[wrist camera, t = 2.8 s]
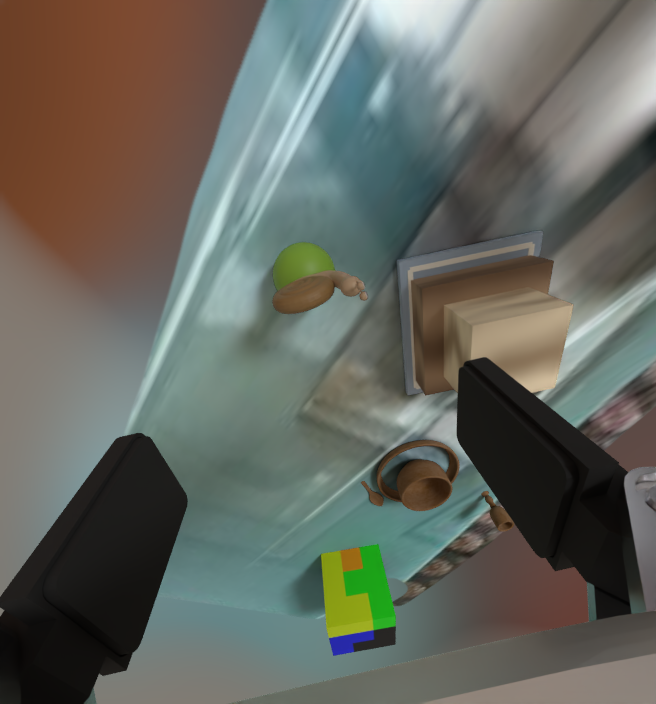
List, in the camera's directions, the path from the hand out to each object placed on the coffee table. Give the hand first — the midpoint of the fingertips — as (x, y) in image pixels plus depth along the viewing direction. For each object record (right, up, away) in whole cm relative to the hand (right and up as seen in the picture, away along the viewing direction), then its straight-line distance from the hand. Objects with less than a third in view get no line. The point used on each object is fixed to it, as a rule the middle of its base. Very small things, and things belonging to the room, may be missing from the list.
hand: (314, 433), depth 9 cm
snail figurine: (-2, +11, +19) cm, 22 cm away
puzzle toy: (+5, -36, +45) cm, 57 cm away
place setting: (+15, -17, +36) cm, 43 cm away
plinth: (+15, +6, +23) cm, 28 cm away
